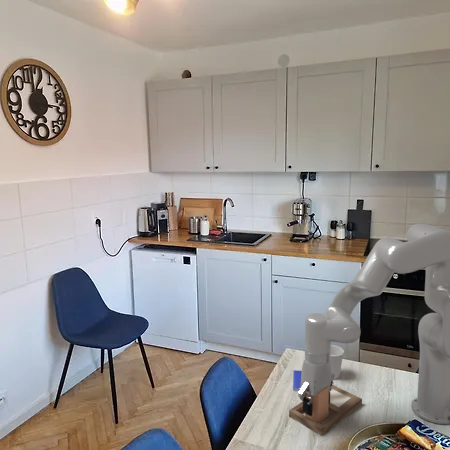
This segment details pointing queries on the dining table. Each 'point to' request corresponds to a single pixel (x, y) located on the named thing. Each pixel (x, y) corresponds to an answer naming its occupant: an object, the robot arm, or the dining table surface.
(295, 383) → the hard drive
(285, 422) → the dining table surface
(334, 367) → the dixie cup
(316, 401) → the block
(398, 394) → the dining table surface
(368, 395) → the dining table surface
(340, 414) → the socket board
